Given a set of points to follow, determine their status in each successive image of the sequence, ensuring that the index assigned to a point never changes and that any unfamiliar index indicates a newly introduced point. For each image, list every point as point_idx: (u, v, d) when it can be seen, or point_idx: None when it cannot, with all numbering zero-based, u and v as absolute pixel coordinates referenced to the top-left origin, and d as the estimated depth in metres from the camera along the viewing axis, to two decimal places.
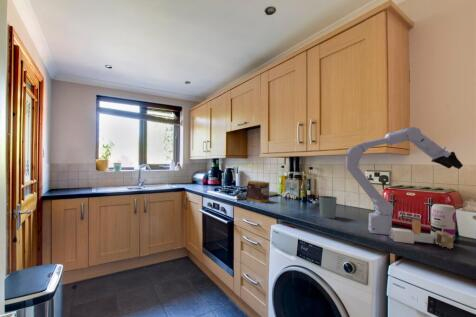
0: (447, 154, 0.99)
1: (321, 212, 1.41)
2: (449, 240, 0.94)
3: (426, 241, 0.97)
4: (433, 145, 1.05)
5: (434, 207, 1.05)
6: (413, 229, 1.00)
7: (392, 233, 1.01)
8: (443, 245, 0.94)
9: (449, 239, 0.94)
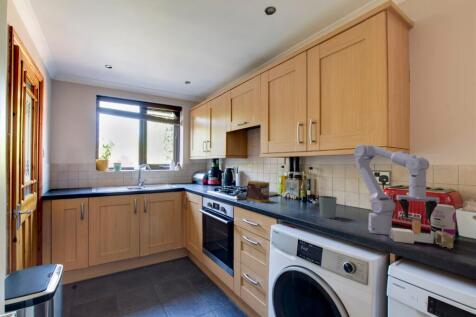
0: (397, 197, 1.02)
1: (321, 212, 1.41)
2: (449, 240, 0.94)
3: (426, 241, 0.97)
4: (410, 186, 1.00)
5: None
6: (413, 229, 1.00)
7: (392, 233, 1.01)
8: (443, 245, 0.94)
9: (449, 239, 0.94)
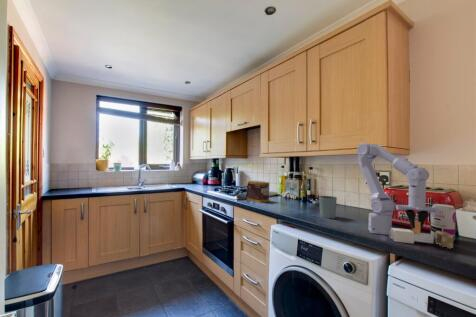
0: (396, 207, 1.02)
1: (321, 212, 1.41)
2: (449, 240, 0.94)
3: (426, 241, 0.97)
4: (410, 197, 1.00)
5: (434, 207, 1.05)
6: (413, 229, 1.00)
7: (392, 233, 1.01)
8: (443, 245, 0.94)
9: (449, 239, 0.94)
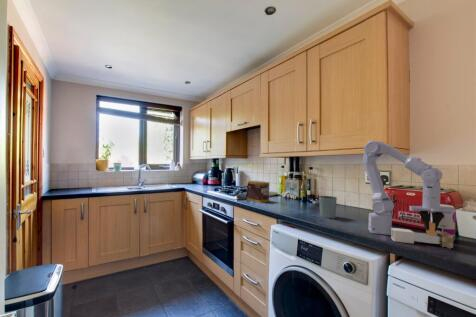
0: (410, 208, 1.01)
1: (321, 212, 1.41)
2: (449, 240, 0.94)
3: (441, 243, 0.96)
4: (424, 198, 0.98)
5: None
6: (427, 230, 0.98)
7: None
8: (443, 245, 0.94)
9: (449, 239, 0.94)
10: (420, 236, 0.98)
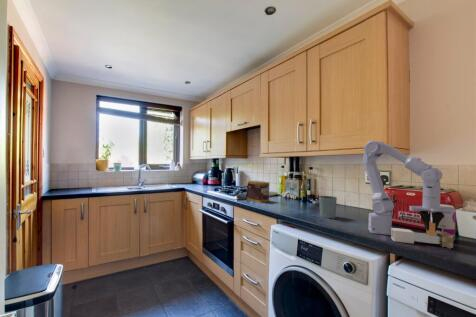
0: (410, 208, 1.01)
1: (321, 212, 1.41)
2: (449, 240, 0.94)
3: (441, 243, 0.96)
4: (424, 198, 0.98)
5: None
6: (427, 230, 0.98)
7: None
8: (443, 245, 0.94)
9: (449, 239, 0.94)
10: (421, 236, 0.98)
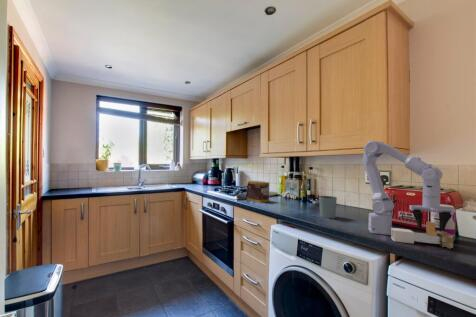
0: (410, 208, 1.01)
1: (321, 212, 1.41)
2: (449, 240, 0.94)
3: (441, 243, 0.96)
4: (424, 197, 0.98)
5: None
6: (427, 230, 0.98)
7: None
8: (443, 245, 0.94)
9: (449, 239, 0.94)
10: (421, 236, 0.98)
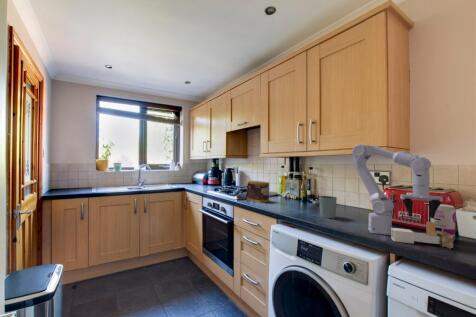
0: (401, 197, 1.04)
1: (321, 212, 1.41)
2: (449, 240, 0.94)
3: (441, 243, 0.96)
4: (414, 186, 1.01)
5: None
6: (427, 230, 0.98)
7: None
8: (443, 245, 0.94)
9: (449, 239, 0.94)
10: (421, 236, 0.98)
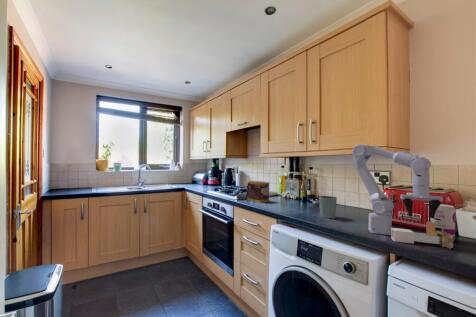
0: (401, 197, 1.04)
1: (321, 212, 1.41)
2: (449, 240, 0.94)
3: (441, 243, 0.96)
4: (414, 186, 1.01)
5: None
6: (427, 230, 0.98)
7: None
8: (443, 245, 0.94)
9: (449, 239, 0.94)
10: (421, 236, 0.98)
